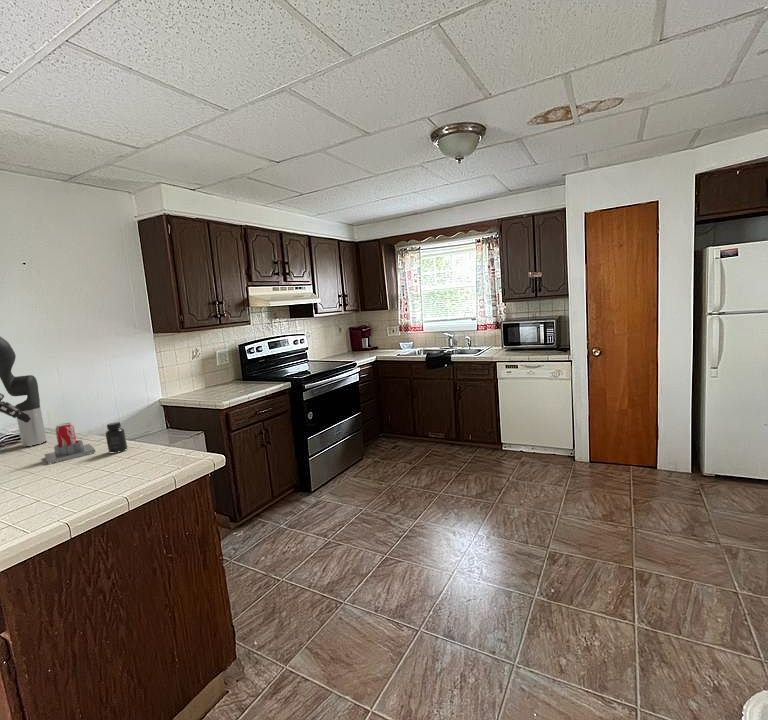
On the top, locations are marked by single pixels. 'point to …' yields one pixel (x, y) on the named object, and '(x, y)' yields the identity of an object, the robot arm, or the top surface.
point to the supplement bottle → (116, 437)
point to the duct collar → (69, 452)
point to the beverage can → (65, 434)
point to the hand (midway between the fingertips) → (28, 419)
